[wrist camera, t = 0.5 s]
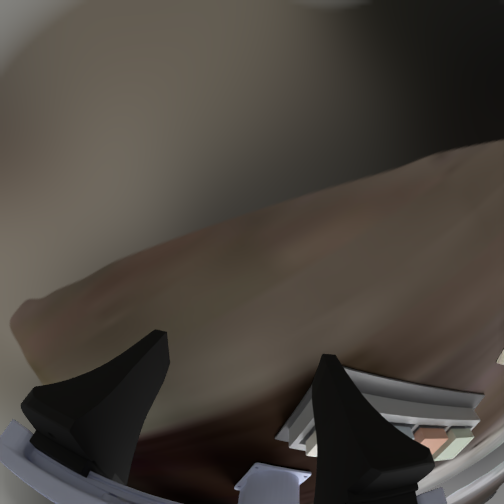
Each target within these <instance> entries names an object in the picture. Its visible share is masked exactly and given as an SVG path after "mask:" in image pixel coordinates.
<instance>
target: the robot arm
mask: <svg viewBox="0 0 504 504" xmlns="http://www.w3.org/2000/svg"><path fill="white" fill-rule="evenodd" d="M169 364H170V359H169V349H168V339H167V332H164V331H160V330H154V331H152V332H151V333H149V334H148V335H147V336H145V337H144V338H143V339H141V340H140V341H139V342H137V343H136V344H135V345H133V346H132V347H131V348H129V349H128V350H126V351H125V352H124V353H122V354H121V355H119V356H117V357H116V358H114V359H113V360H111V361H110V362H108V363H106V364H104V365H102V366H100V367H98V368H96V369H94V370H92V371H90V372H88V373H85V374H83V375H80V376H78V377H75V378H72V379H69V380H66V381H62V382H58V383H54V384H49V385H43V386H36V387H34V388H33V389H32V390H31V392H30V393H29V394H28V396H27V397H26V398H25V399H24V400H23V402H22V403H21V409H22V411H23V413H24V414H25V416H26V417H27V419H28V420H29V421H30V423H31V424H32V425H33V427H34V428H35V429H36V431H35V433H34V434H33V433H32V432H30V431H29V430H28V429H27V428H25V427H24V426H23V425H21V424H20V423H19V422H17V421H16V420H14V419H12V421H11V422H10V424H9V425H8V426H7V428H6V429H5V430H4V432H3V433H2V435H1V436H0V462H1V463H3V464H4V465H5V466H6V467H7V468H8V469H9V470H10V471H12V472H13V473H14V474H15V475H16V476H17V477H19V478H20V479H21V480H23V481H24V482H25V483H26V484H28V485H29V486H31V487H32V488H33V489H35V490H36V491H37V492H39V493H40V494H42V495H43V496H45V497H46V498H48V499H49V500H51V501H52V502H54V503H55V504H182V503H178V502H174V501H170V500H167V499H163V498H160V497H156V496H153V495H150V494H147V493H144V492H141V491H138V490H135V489H132V488H130V487H127V481H128V476H129V471H130V467H131V463H132V459H133V455H134V451H135V448H136V444H137V441H138V438H139V435H140V432H141V429H142V426H143V423H144V420H145V418H146V416H147V414H148V412H149V410H150V408H151V406H152V404H153V402H154V400H155V398H156V396H157V394H158V392H159V390H160V388H161V386H162V384H163V381H164V379H165V376H166V373H167V370H168V367H169ZM312 406H313V414H314V422H315V430H316V438H317V474H316V488H315V498H314V504H447V501H446V497H445V494H444V490H443V488H442V487H440V488H437V489H434V490H431V491H428V492H425V493H422V494H420V495H418V496H416V493H415V491H417V490H418V484H417V483H418V482H419V481H420V480H421V479H423V478H424V477H425V476H427V475H428V474H429V473H430V472H431V471H432V470H433V468H434V467H435V463H434V460H433V457H432V454H431V451H430V449H429V448H428V447H426V446H424V445H422V444H421V443H419V442H417V441H415V440H413V439H412V438H410V437H409V436H407V435H406V434H404V433H403V432H401V431H400V430H399V429H397V428H396V427H395V426H393V425H392V424H391V423H390V422H389V421H387V420H386V419H385V418H384V417H383V416H382V415H381V414H380V413H379V412H378V411H377V410H376V409H375V408H374V407H373V406H372V405H371V404H370V403H369V402H368V400H367V399H366V398H365V397H364V396H363V394H362V393H361V392H360V390H359V389H358V388H357V386H356V385H355V384H354V382H353V381H352V379H351V378H350V377H349V375H348V374H347V372H346V371H345V369H344V368H343V366H342V364H341V363H340V361H339V360H338V358H337V357H336V355H331V354H322V357H321V360H320V363H319V366H318V368H317V371H316V374H315V377H314V379H313V382H312ZM310 476H311V472H308V471H301V470H295V469H289V468H283V467H278V466H273V465H268V464H263V463H255V464H254V465H253V466H252V467H251V468H250V470H249V471H248V472H247V473H246V474H245V475H244V476H243V477H242V479H241V480H240V481H239V482H238V483H237V484H236V485H235V487H234V489H236V490H240V495H239V501H238V504H299V485H300V484H301V483H303V482H304V481H305V480H306V479H307V478H308V477H310Z"/></svg>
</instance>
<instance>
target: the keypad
mask: <svg viewBox="0 0 504 504" xmlns="http://www.w3.org/2000/svg"><path fill="white" fill-rule="evenodd" d="M343 368H344V369H345V371H346V372H347V374H348V375H349V377H350V378H351V379H352V381H353V382H354V384H355V385H356V386H357V388H358V389H359V390H360V392H361V393H362V394H363V396H364V397H365V398H366V399H367V400H368V402H369V403H370V404H371V405H372V406H373V407H374V408H375V409H376V410H377V411H378V412H379V413H380V414H381V415H382V416H383V417H384V418H385V419H386V420H387V421H389V422H397V423H404V424H405V426H406V427H410V428H411V430H412V432H413V431H414V430H415V429H416V428H417V427H418V426H419V425H438V426H439V428H440V429H444V430H445V432H446V431H447V430H448V429H449V428H450V427H451V426H465V428H469V429H470V430H472V429H473V428H474V427H475V426H476V425H477V424H478V422H479V421H480V418H479V417H478V415H477V414H476V412H475V411H474V409H475V408H476V406H477V405H478V404H479V403H480V401H481V400H482V399H483V397H484V396H485V395H484V394H478V393H470V392H463V391H456V390H450V389H444V388H438V387H432V386H427V385H421V384H416V383H411V382H406V381H401V380H397V379H392V378H388V377H384V376H379V375H375V374H371V373H367V372H363V371H359V370H355V369H351V368H347V367H344V366H343ZM314 426H315V422H314V414H313V406H312V385H311V386H310V388H309V390H308V391H307V393H306V394H305V396H304V397H303V399H302V400H301V401H300V403H299V404H298V406H297V407H296V409H295V410H294V412H293V413H292V414H291V416H290V417H289V419H288V420H287V421H286V423H285V424H284V425H283V427H282V428H281V430H280V431H279V432H278V434H277V435H276V436H275V439H277V440H282V441H286V442H289V448H294V449H299V450H304V451H306V441H307V440H308V438H309V432H310V431H311V429H312V428H313V427H314Z"/></svg>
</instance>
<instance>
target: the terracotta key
mask: <svg viewBox="0 0 504 504" xmlns="http://www.w3.org/2000/svg"><path fill="white" fill-rule="evenodd" d="M412 433H413V435H414V438H415V439H414V440H415V441H417V442H419V443H421V444H422V445H424V446H426V447H428V448H429V449H430V451H431V454H432V455H433V454H434V453H435V452H436V451H437V450H438V449H439V448H440V447H441V446H442V445H443V444H444V443H445V442H446V441H447V440H448V439H449V438H448V436H447V434H446V432H445V430H444V429H440V428H439V426H438V425H419V426H418V427H417V428H416V429H415V430H414V431H413V432H412Z"/></svg>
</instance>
